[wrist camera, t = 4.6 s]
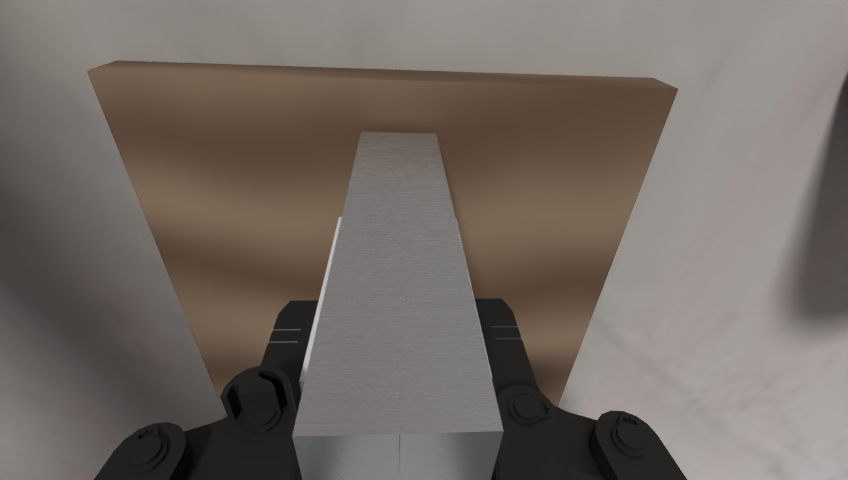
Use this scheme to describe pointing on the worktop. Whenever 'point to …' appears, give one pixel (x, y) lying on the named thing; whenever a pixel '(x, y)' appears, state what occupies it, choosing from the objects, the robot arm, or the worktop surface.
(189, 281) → the walnut board
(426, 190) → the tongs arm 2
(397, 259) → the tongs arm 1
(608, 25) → the worktop surface
